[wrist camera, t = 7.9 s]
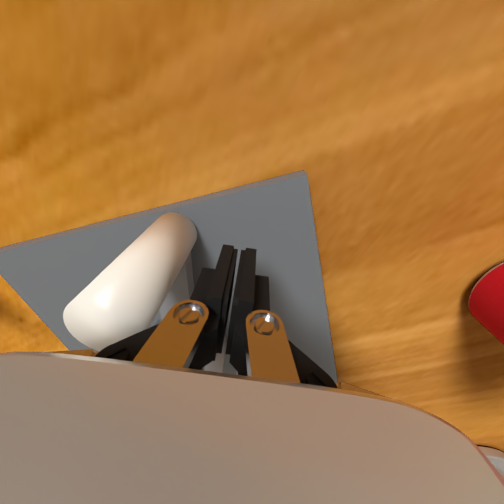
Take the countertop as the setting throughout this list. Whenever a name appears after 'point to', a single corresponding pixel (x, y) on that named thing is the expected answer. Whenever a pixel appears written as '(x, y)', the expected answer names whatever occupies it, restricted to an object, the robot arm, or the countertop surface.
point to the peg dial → (138, 287)
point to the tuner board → (194, 258)
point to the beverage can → (490, 301)
